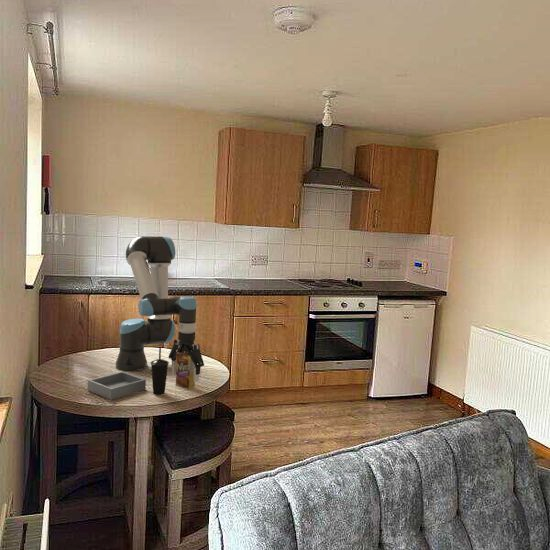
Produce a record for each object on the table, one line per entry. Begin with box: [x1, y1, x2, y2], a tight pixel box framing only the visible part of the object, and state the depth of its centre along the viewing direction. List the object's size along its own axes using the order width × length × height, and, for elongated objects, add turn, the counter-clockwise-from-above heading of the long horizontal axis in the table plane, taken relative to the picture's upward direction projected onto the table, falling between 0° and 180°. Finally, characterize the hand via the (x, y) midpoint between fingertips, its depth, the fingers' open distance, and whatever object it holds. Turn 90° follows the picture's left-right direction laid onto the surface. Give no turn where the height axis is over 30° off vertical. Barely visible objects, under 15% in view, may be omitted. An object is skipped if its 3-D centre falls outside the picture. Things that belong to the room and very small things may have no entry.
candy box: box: [175, 352, 196, 390], centre depth 241 cm, size 9×4×15 cm, turn 54°
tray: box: [87, 371, 147, 401], centre depth 232 cm, size 16×18×4 cm
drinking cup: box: [150, 347, 170, 396], centre depth 230 cm, size 8×8×20 cm
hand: (185, 377), depth 241 cm, fingers open, 13 cm apart
